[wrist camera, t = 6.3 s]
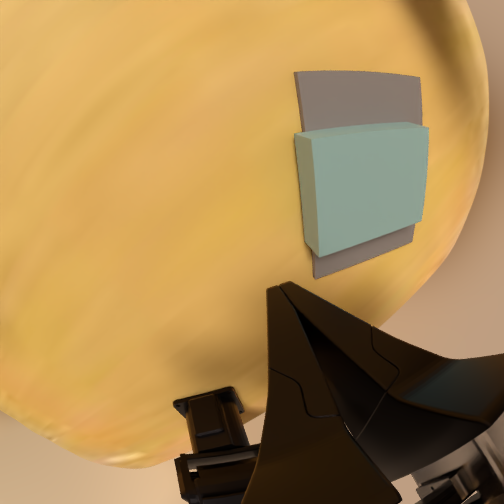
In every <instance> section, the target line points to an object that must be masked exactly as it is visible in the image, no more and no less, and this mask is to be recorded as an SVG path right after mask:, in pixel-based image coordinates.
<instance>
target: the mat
mask: <svg viewBox="0 0 504 504" xmlns="http://www.w3.org/2000/svg"><path fill="white" fill-rule="evenodd" d="M294 76H295V83H296V89H297V96H298V103H299V110H300V118H301V126H302V132H308V131H314V130H321V129H329V128H337V127H346V126H355V125H366V124H379V123H396V122H410V123H414V124H418V125H421V126H422V98H421V83H420V77H415V76H407V75H400V74H390V73H380V72H365V71H301V72H294ZM414 228H415V224H412V225H410V226H407V227H404V228H402V229H399V230H396V231H393V232H391V233H388V234H385V235H382V236H380V237H377V238H374V239H371V240H369V241H366V242H363V243H360V244H357V245H355V246H352V247H349V248H346V249H343V250H340V251H337V252H334V253H332V254H329V255H326V256H323V257H320V258H319V257H318V256H317V255H316V254H315V253H314V251H313V250H312V260H313V277H314V278H315V279H318V278H321V277H323V276H326V275H329V274H332V273H334V272H337V271H340V270H342V269H345V268H348V267H350V266H353V265H356V264H358V263H361V262H363V261H366V260H369V259H371V258H374V257H376V256H379V255H381V254H384V253H386V252H389V251H391V250H394V249H396V248H399V247H401V246H403V245H406V244H408V243H411V242H412V240H413V234H414Z"/></svg>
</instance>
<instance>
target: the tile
mask: <svg viewBox="0 0 504 504" xmlns="http://www.w3.org/2000/svg"><path fill="white" fill-rule="evenodd" d="M294 139H295V147H296V155H297V164H298V173H299V182H300V192H301V202H302V213H303V225H304V238H305V242H306V244H307V245H308V246H309V247H310V248H311V249H312V250H313V251H314V253H315V254H316V255H317V256H318V257H319V258H320V257H323V256H326V255H329V254H332V253H334V252H337V251H340V250H343V249H346V248H349V247H352V246H355V245H357V244H360V243H363V242H366V241H369V240H371V239H374V238H377V237H380V236H382V235H385V234H388V233H391V232H393V231H396V230H399V229H402V228H404V227H407V226H410V225H412V224H415V223H418V222H420V221H422V214H423V206H424V198H425V189H426V179H427V166H428V144H429V128H428V127H425V126H421V125H418V124H414V123H410V122H396V123H379V124H366V125H355V126H346V127H337V128H329V129H321V130H314V131H308V132H301V133H295V134H294Z"/></svg>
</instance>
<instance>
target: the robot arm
mask: <svg viewBox="0 0 504 504" xmlns="http://www.w3.org/2000/svg"><path fill="white" fill-rule="evenodd" d="M266 299H267V340H268V397H267V406H266V413H265V420H264V426H263V432H262V438H261V443H259V444H255V445H250V444H249V441H248V438H247V435H246V432H245V429H244V426H243V423H242V420H241V417H240V414H241V413H243V412H244V408H243V406H242V404H241V402H240V401H239V399H238V397H237V395H236V393H235V391H234V389H233V388H232V387H228V388H224V389H220V390H217V391H213V392H209V393H206V394H202V395H198V396H194V397H190V398H185V399H181V400H176V401H174V402H173V406H174V408H175V409H176V410H177V411H178V412H179V413H180V414H181V415H182V416H184V417H185V418H186V420H187V426H188V431H189V436H190V440H191V445H192V450H193V454H180V457H179V458H176V459H174V461H175V466H176V471H177V477H178V482H179V488H180V494H181V498H182V499H184V500H185V501H187V502H189V504H398V503H400V502H401V501H402V498H401V495H400V494H399V492H398V491H397V489H396V488H395V487H394V486H393V485H392V483H391V482H392V481H395V480H397V479H399V478H402V477H404V476H406V475H409V474H411V475H412V477H413V478H414V480H415V482H416V484H417V485H418V488H417V489H416V491H417V493H418V494H419V497H420V498H421V500H420V501H418V502H417V503H415V504H461V503H463V502H464V501H465V500H466V499H467V498H468V497H469V496H470V495H472V494H473V493H474V492H475V491H477V492H478V493H476V494H474V495H473V496H471V497H470V498H469V499H467V500H466V501H465V502H464V503H463V504H504V353H503V354H498V355H491V356H484V357H477V358H468V359H449V358H445V357H442V356H439V355H437V354H434V353H432V352H429V351H427V350H424V349H422V348H419V347H416V346H414V345H411V344H409V343H407V342H404V341H402V340H400V339H397V338H395V337H393V336H391V335H389V334H387V333H385V332H383V331H381V330H379V329H378V328H376V327H374V326H371V325H370V324H368V323H366V322H365V321H363V320H361V319H359V318H357V317H355V316H353V315H352V314H350V313H348V312H346V311H344V310H342V309H341V308H339V307H337V306H335V305H333V304H331V303H330V302H328V301H326V300H324V299H322V298H320V297H319V296H317V295H315V294H313V293H311V292H309V291H308V290H306V289H304V288H302V287H300V286H299V285H297V284H295V283H293V282H291V281H288V282H285V283H282V284H280V285H279V286H277V285H276V286H273V287H270V288H267V290H266ZM345 424H346V425H345ZM346 426H347V427H348V429H349V430H348V429H347V427H346ZM349 431H350V432H351V433H350V432H349ZM351 434H352V435H351ZM191 469H197V472H189V470H191Z"/></svg>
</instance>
